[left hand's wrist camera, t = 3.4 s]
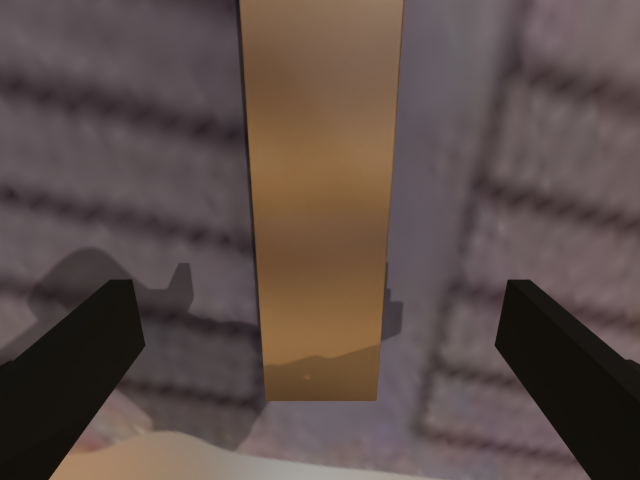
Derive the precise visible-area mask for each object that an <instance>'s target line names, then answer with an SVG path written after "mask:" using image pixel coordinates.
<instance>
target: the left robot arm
mask: <svg viewBox="0 0 640 480" xmlns="http://www.w3.org/2000/svg"><path fill="white" fill-rule="evenodd" d="M144 347H145V341H144V336H143V331H142V326H141V321H140V316H139V311H138V306H137V301H136V296H135V291H134V286H133V281H132V280H109V281H108V282H107V283H106V284H104V285H103V286H102V287H101V288H100V289H99V290H97V291H96V292H95V293H94V294H93V295H91V296H90V297H89V298H88V299H87V300H85V301H84V302H83V303H82V304H81V305H79V306H78V307H77V308H76V309H75V310H73V311H72V312H71V313H70V314H69V315H68V316H66V317H65V318H64V319H63V320H62V321H60V322H59V323H58V324H57V325H56V326H54V327H53V328H52V329H51V330H50V331H48V332H47V333H46V334H45V335H44V336H43V337H41V338H40V339H39V340H38V341H37V342H35V343H34V344H33V345H32V346H31V347H29V348H28V349H27V350H26V351H25V352H23V353H22V354H21V355H20V356H19V357H17V358H16V359H15V360H14V361H8V362H7V363H5V364H3V365H1V366H0V480H49V478H50V477H51V476H52V474H53V473H54V472H55V470H56V469H57V467H58V466H59V465H60V463H61V462H62V460H63V459H64V458H65V456H66V455H67V453H68V452H69V451H70V449H71V448H72V447H73V445H74V444H75V442H76V441H77V440H78V438H79V437H80V435H81V434H82V433H83V431H84V430H85V429H86V427H87V426H88V424H89V423H90V422H91V420H92V419H93V417H94V416H95V415H96V413H97V412H98V411H99V409H100V408H101V406H102V405H103V404H104V402H105V401H106V399H107V398H108V397H109V395H110V394H111V393H112V391H113V390H114V388H115V387H116V386H117V384H118V383H119V381H120V380H121V379H122V377H123V376H124V375H125V373H126V372H127V370H128V369H129V368H130V366H131V365H132V363H133V362H134V361H135V359H136V358H137V357H138V355H139V354H140V352H141V351H142V350H143V348H144ZM495 347H496V348H497V350H498V351H499V352H500V354H501V355H502V357H503V358H504V359H505V361H506V362H507V363H508V365H509V366H510V368H511V369H512V370H513V372H514V373H515V375H516V376H517V377H518V379H519V380H520V381H521V383H522V384H523V386H524V387H525V388H526V390H527V391H528V393H529V394H530V395H531V397H532V398H533V399H534V401H535V402H536V404H537V405H538V406H539V408H540V409H541V411H542V412H543V413H544V415H545V416H546V417H547V419H548V420H549V422H550V423H551V424H552V426H553V427H554V429H555V430H556V431H557V433H558V434H559V435H560V437H561V438H562V440H563V441H564V442H565V444H566V445H567V447H568V448H569V449H570V451H571V452H572V453H573V455H574V456H575V458H576V459H577V460H578V462H579V463H580V465H581V466H582V467H583V469H584V470H585V472H586V473H587V474H588V476H589V477H590V478H591V480H640V364H638V363H636V362H634V361H633V360H625V359H624V358H623V357H621V356H620V355H619V354H618V353H617V352H615V351H614V350H613V349H612V348H611V347H609V346H608V345H607V344H606V343H605V342H603V341H602V340H601V339H600V338H599V337H597V336H596V335H595V334H594V333H593V332H592V331H590V330H589V329H588V328H587V327H586V326H584V325H583V324H582V323H581V322H580V321H578V320H577V319H576V318H575V317H574V316H572V315H571V314H570V313H569V312H568V311H567V310H565V309H564V308H563V307H562V306H561V305H559V304H558V303H557V302H556V301H555V300H553V299H552V298H551V297H550V296H549V295H547V294H546V293H545V292H544V291H543V290H541V289H540V288H539V287H538V286H537V285H536V284H534V283H533V282H532V281H531V280H508V281H507V286H506V291H505V296H504V301H503V306H502V311H501V316H500V321H499V326H498V331H497V336H496V341H495Z"/></svg>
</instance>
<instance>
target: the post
mask: <svg viewBox="0 0 640 480" xmlns="http://www.w3.org/2000/svg"><path fill="white" fill-rule="evenodd" d="M239 7H240V22H241V37H242V52H243V67H244V82H245V97H246V113H247V128H248V143H249V158H250V173H251V188H252V203H253V218H254V233H255V248H256V263H257V279H258V294H259V309H260V324H261V339H262V354H263V369H264V384H265V399H266V401H376V400H377V386H378V372H379V357H380V343H381V329H382V314H383V300H384V285H385V271H386V257H387V242H388V228H389V214H390V199H391V185H392V171H393V156H394V142H395V128H396V113H397V99H398V84H399V70H400V56H401V41H402V27H403V13H404V0H239Z"/></svg>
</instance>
